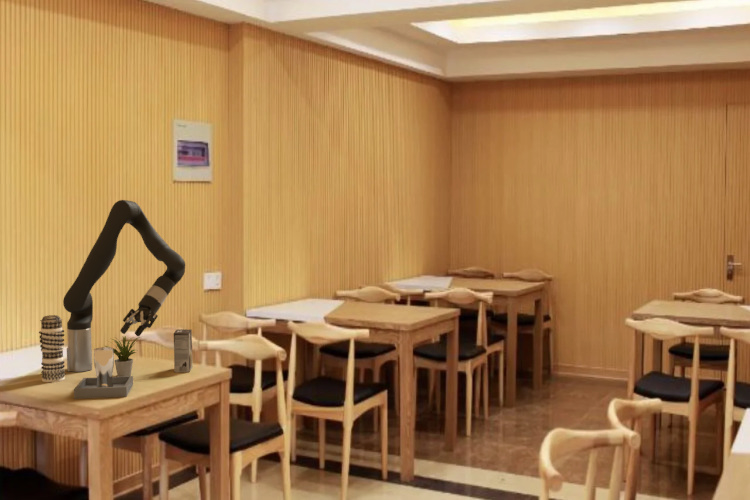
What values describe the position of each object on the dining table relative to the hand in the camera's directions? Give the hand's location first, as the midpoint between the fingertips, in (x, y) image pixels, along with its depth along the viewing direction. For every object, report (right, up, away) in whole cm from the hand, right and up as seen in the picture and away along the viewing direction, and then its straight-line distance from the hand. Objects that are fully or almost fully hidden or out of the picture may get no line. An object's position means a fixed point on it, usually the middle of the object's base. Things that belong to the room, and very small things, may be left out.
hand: (129, 333), depth 319 cm
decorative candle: (-33, -19, +12) cm, 40 cm away
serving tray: (-7, -20, -8) cm, 23 cm away
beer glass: (-7, -20, -8) cm, 22 cm away
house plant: (-7, -19, +20) cm, 28 cm away
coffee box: (+14, -18, +28) cm, 36 cm away
